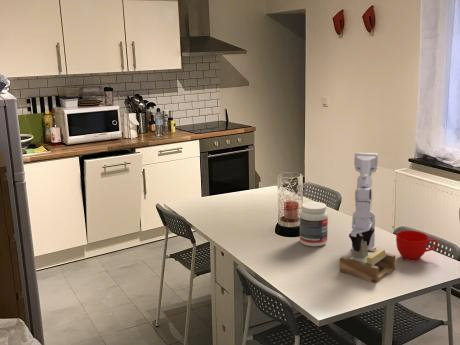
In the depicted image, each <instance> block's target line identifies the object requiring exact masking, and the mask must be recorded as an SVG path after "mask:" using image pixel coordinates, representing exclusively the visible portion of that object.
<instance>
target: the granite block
mask: <svg viewBox="0 0 460 345" xmlns="http://www.w3.org/2000/svg"><path fill="white" fill-rule="evenodd" d="M351 248H352V250H351V251H352V257H355V258H362V259H363V258H364V257H366V256H368V250H367V241H362V242H361V246H360V251H359V252H357V251H354V248H353V244H352V243H351Z"/></svg>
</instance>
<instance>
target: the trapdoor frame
mask: <svg viewBox="0 0 460 345" xmlns="http://www.w3.org/2000/svg"><path fill="white" fill-rule="evenodd" d="M367 250H368V252H376V251H377V250H378V249H371V248H367ZM385 254H386V257H384V258H383V259H381V260H380V261H379V262H377V263H376V264H374V265H370V264H367V263H364V262H360V261H357V260H353V259H350V258H351V257H345V256H341V257H339V272H340V273H343V274H346V275H350V276H353V277H356V278H358V279H363V280H366V281H369V282H372V283H375V284H376V283H378V282H379V281H380V280H381V279H383V278H385V277H386V276H387V275H388V274H390V273H391V272H392V271H394V270H395V269H396V255H395V254H393V253H389V252H386V251H385ZM379 268H383V269H382V270H381V271H379Z"/></svg>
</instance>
